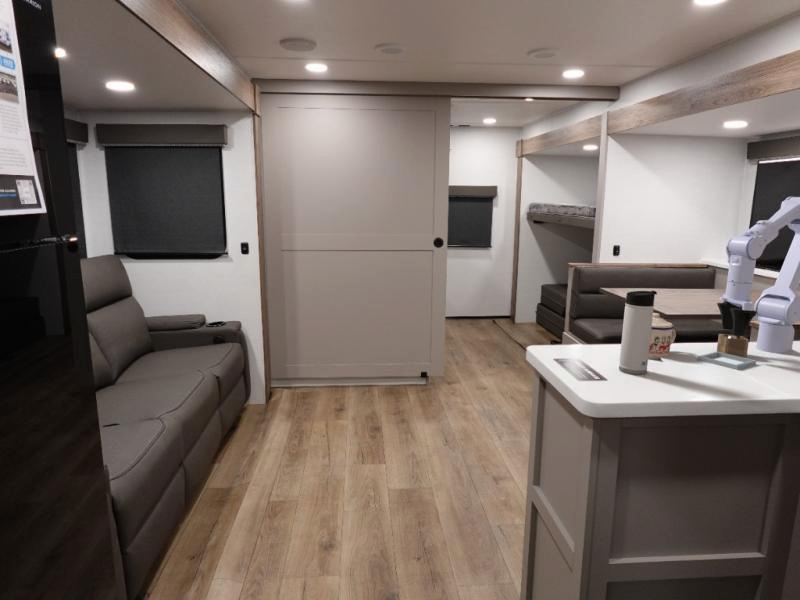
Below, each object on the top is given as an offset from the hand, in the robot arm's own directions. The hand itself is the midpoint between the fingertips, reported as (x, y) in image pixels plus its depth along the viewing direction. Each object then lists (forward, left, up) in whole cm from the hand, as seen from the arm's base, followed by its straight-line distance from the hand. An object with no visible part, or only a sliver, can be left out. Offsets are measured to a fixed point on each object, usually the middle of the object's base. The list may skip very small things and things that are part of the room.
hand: (732, 332), depth 144 cm
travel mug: (+34, -6, -8) cm, 35 cm away
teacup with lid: (+15, -12, -8) cm, 21 cm away
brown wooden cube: (-1, 0, -6) cm, 6 cm away
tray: (+8, +3, -7) cm, 11 cm away
